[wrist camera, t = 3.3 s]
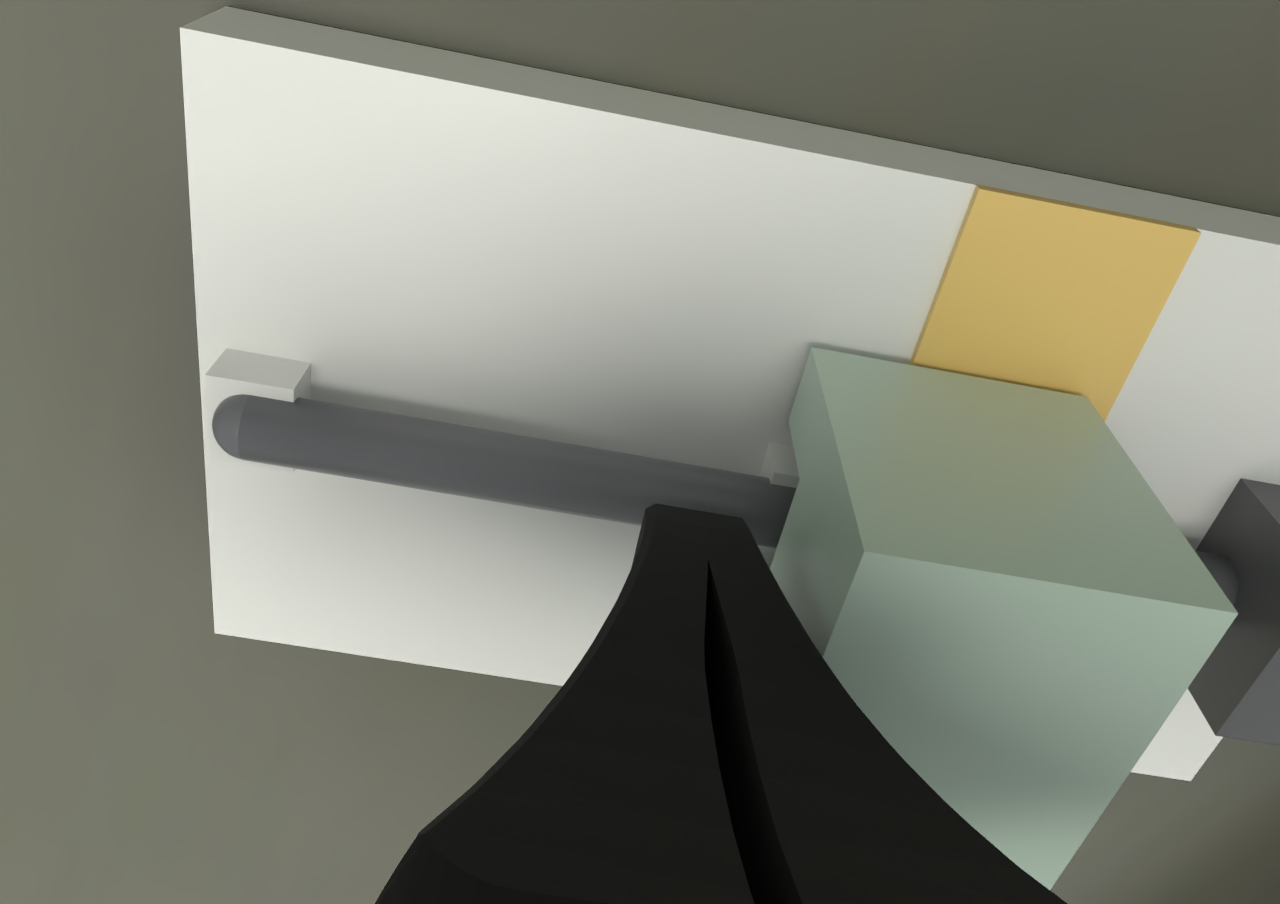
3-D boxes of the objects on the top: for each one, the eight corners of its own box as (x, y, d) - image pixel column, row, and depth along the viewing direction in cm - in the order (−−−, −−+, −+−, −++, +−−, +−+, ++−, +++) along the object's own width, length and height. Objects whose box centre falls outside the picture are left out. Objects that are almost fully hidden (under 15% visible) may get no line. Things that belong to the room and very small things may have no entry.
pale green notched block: (1087, 397, 14) (1238, 612, 10) (961, 651, 17) (1045, 897, 13) (811, 346, 14) (864, 550, 10) (727, 614, 17) (744, 855, 13)
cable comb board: (1471, 255, 15) (1699, 384, 12) (1157, 719, 20) (1252, 898, 17) (225, 5, 13) (82, 73, 10) (245, 577, 19) (155, 741, 15)
